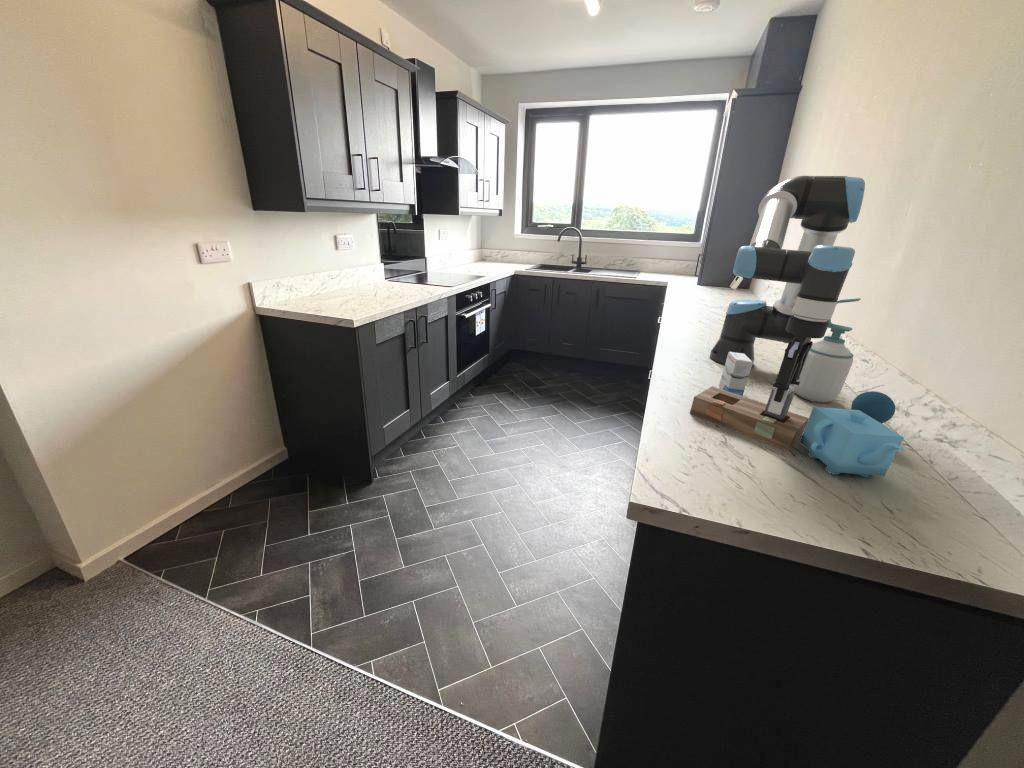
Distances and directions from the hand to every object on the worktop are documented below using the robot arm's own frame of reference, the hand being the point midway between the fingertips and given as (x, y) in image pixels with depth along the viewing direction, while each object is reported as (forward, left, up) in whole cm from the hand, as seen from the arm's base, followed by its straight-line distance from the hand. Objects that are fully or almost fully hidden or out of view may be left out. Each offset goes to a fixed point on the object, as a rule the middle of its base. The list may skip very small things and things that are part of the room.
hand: (776, 409), depth 102 cm
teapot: (+5, +17, -7) cm, 19 cm away
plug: (0, 0, -1) cm, 1 cm away
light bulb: (-20, +16, -7) cm, 27 cm away
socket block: (0, -6, -7) cm, 9 cm away
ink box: (-20, -17, -7) cm, 27 cm away
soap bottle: (-39, +1, -7) cm, 40 cm away
